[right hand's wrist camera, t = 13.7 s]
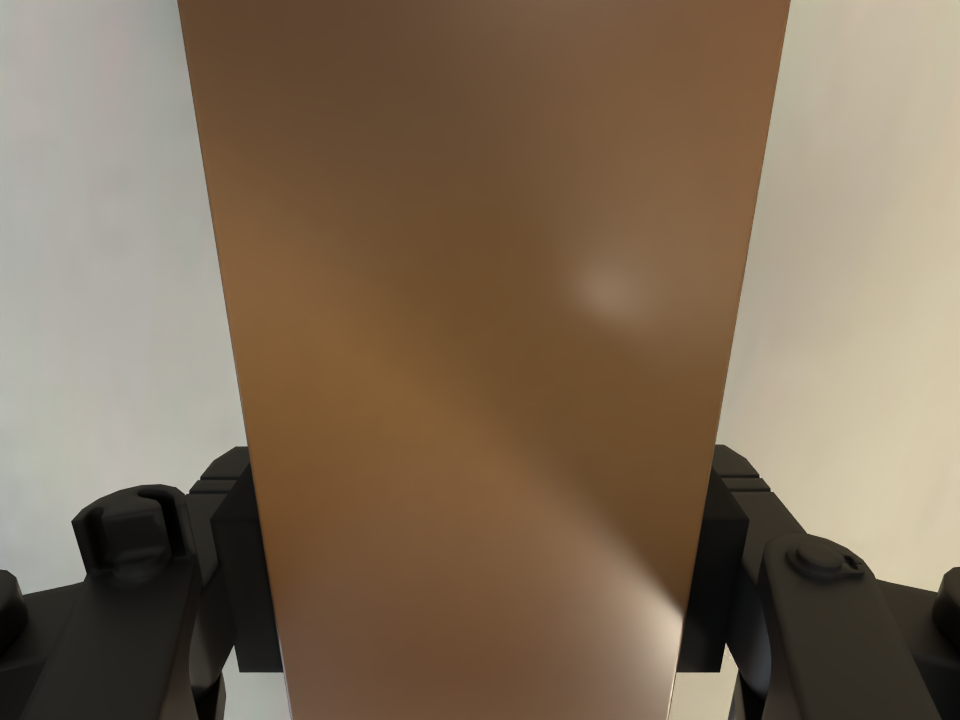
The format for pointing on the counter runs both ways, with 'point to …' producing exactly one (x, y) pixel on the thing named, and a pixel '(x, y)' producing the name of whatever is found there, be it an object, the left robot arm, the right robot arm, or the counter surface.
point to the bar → (481, 331)
